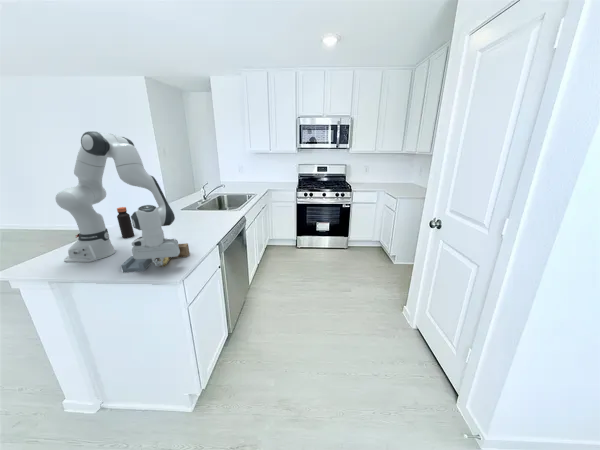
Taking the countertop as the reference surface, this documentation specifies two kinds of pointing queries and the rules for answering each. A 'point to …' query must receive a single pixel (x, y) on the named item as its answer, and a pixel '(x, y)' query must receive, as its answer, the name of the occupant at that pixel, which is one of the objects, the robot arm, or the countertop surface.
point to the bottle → (125, 223)
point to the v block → (135, 265)
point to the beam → (182, 250)
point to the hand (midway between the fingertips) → (159, 265)
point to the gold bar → (165, 261)
